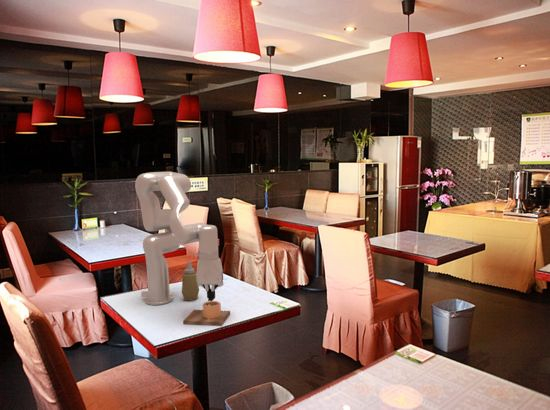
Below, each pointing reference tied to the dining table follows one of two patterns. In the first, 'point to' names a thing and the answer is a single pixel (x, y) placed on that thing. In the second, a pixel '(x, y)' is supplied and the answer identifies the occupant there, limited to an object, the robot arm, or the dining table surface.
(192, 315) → the hub board
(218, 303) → the terracotta pot
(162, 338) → the dining table surface
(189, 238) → the robot arm
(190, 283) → the squeeze bottle
